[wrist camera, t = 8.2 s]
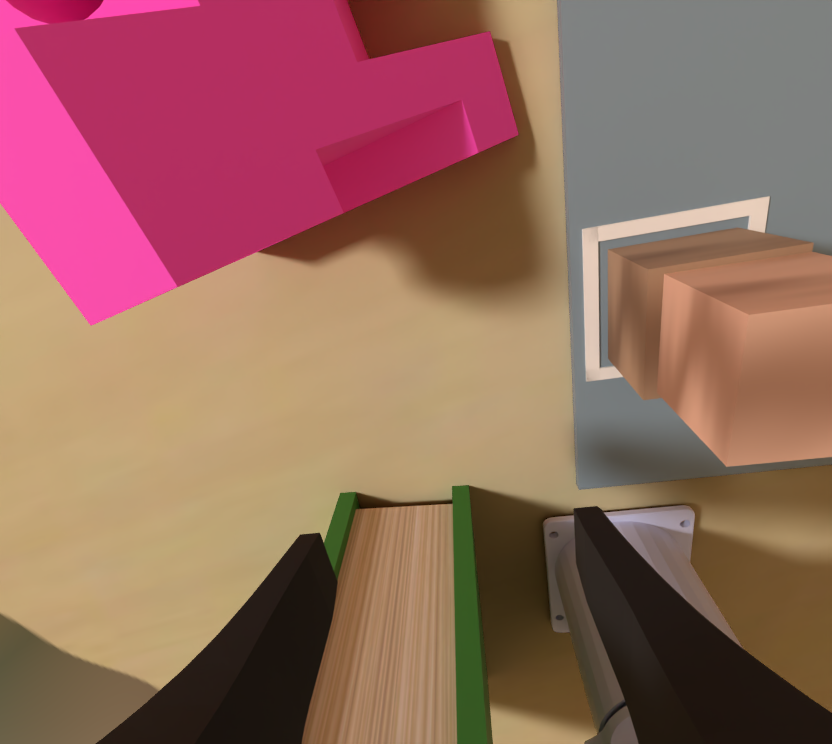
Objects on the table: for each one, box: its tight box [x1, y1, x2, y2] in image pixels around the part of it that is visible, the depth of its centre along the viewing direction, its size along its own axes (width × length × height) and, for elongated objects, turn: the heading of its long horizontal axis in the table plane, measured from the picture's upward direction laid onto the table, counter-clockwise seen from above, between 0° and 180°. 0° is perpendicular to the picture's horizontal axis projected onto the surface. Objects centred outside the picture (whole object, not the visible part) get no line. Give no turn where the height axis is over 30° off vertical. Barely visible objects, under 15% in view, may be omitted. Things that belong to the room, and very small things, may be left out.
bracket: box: [0, 0, 519, 325], centre depth 12 cm, size 12×10×10 cm
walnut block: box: [608, 227, 814, 400], centre depth 17 cm, size 5×5×4 cm
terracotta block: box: [657, 252, 832, 467], centre depth 13 cm, size 4×4×4 cm
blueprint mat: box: [557, 0, 832, 490], centre depth 18 cm, size 22×20×1 cm
